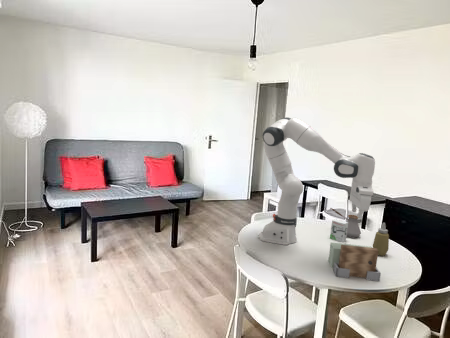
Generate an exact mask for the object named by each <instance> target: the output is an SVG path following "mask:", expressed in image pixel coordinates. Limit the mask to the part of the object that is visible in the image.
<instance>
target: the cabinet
mask: <svg viewBox="0 0 450 338" xmlns="http://www.w3.org/2000/svg"><path fill="white" fill-rule="evenodd" d="M341 245H350V246H360V247H370V248H373V246H370V245H360V244H351V243H350V244H348V243H343V242H330V245H329V246H330V247H329V254H328V260H327V261H328V263H329V265H330V268H332V270H333V273H334V275H335V277H339V278H348V279H349V278H350V276H349V272H350V269H345V268H338V266H339V258H340V250H341ZM381 274H382V273H381V271H380V270H379V269H378V267H377V266H376V270H375V272H373V271H367V276H366V278H365V279H366V281H374V282H380V281H381Z"/></svg>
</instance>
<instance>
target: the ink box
mask: <svg viewBox="0 0 450 338" xmlns="http://www.w3.org/2000/svg"><path fill="white" fill-rule="evenodd" d="M347 228H348V222H347V220H343V219H342V220H341V219H338V218H335V219H332V220H331V227H330V236H329V238H330V239H331V240H334V241H338V242H339V243H344V242H346V241H347V236H346V235H347Z"/></svg>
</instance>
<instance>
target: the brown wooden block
mask: <svg viewBox="0 0 450 338" xmlns="http://www.w3.org/2000/svg"><path fill="white" fill-rule="evenodd" d="M378 256H379V255H378V250H377V248H373V247H372V248H370V247H360V246H350V245H341V250H340V258H339V266H338V268H345V269H350V272H349V277H353V278H363V279H366V276H367V271H373V272H375V270H376V267H377V265H378V264H377V261H378Z"/></svg>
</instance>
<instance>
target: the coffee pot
mask: <svg viewBox="0 0 450 338" xmlns="http://www.w3.org/2000/svg"><path fill="white" fill-rule="evenodd" d="M331 210H332V211H333V212H334V213H335V214H337V215H338V216H341V217H342V218H344V219H345V221H346V222H348V228H347V235H346V238H352V239H353V238H355V239H357V238H358V237H359V236H361V234H362V232H361V228H360V226H359V222H358V219H359V218H358V217H357V214H355V215H354V214H348V215H347V217H348V218H347V217H346V216H344V215H343V214H341V213H340V212H339V211H337V210H336V209H335V208H334V209H333V208H332V207H330V209H329V211H331Z"/></svg>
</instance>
